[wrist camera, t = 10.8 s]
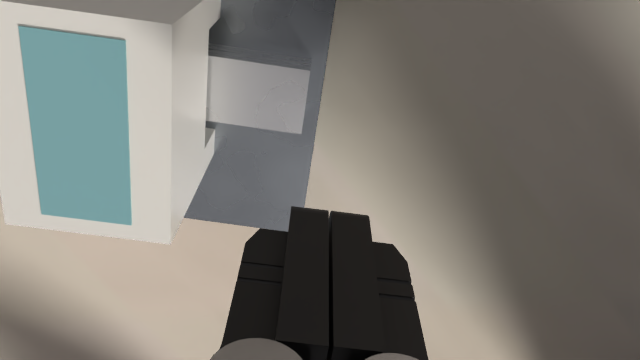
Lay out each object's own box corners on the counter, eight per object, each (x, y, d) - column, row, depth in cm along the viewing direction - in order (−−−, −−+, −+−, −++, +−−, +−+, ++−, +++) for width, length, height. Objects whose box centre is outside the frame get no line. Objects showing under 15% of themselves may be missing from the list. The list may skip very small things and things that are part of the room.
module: (221, -14, 18) (171, 24, 12) (214, 153, 20) (170, 245, 15) (81, -34, 17) (-33, -4, 12) (92, 137, 20) (4, 224, 15)
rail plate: (350, -99, 17) (355, -99, 13) (301, 220, 23) (293, 298, 18) (-171, -185, 16) (-356, -215, 12) (-91, 166, 22) (-198, 234, 18)
